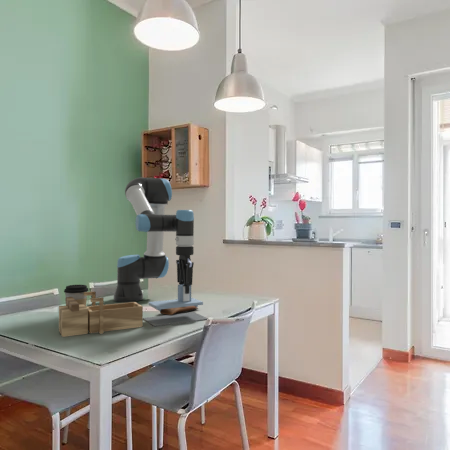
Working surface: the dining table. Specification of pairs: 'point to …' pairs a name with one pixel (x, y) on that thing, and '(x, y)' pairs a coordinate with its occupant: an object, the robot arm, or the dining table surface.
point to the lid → (175, 301)
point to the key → (72, 304)
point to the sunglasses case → (177, 310)
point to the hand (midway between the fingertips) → (184, 300)
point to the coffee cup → (76, 293)
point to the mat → (174, 319)
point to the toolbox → (99, 317)
